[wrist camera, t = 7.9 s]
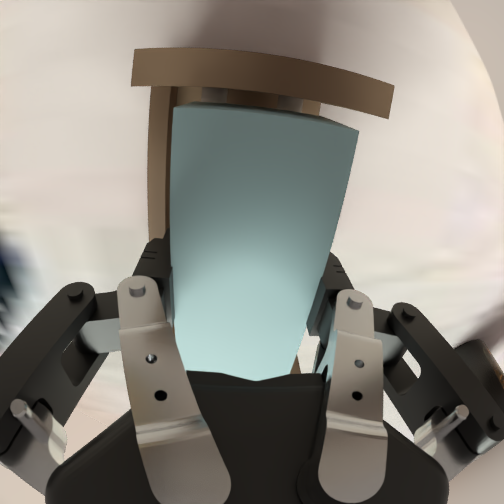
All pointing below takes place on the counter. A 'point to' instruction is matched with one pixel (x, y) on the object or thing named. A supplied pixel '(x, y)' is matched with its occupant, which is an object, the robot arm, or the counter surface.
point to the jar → (484, 368)
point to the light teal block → (251, 230)
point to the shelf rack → (236, 100)
